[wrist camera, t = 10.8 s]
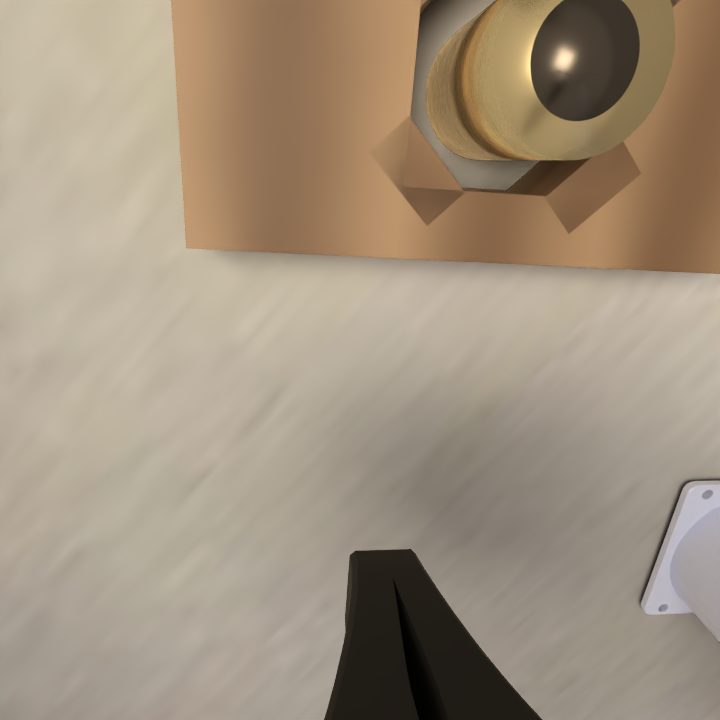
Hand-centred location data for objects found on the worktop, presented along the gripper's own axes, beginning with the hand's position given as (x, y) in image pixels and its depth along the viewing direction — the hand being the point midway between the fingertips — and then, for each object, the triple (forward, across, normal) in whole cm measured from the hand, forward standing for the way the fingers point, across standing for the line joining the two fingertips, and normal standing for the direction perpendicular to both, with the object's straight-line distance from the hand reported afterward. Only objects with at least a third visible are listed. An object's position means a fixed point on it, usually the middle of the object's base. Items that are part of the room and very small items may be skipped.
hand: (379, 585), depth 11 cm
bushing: (+9, -4, -11) cm, 15 cm away
